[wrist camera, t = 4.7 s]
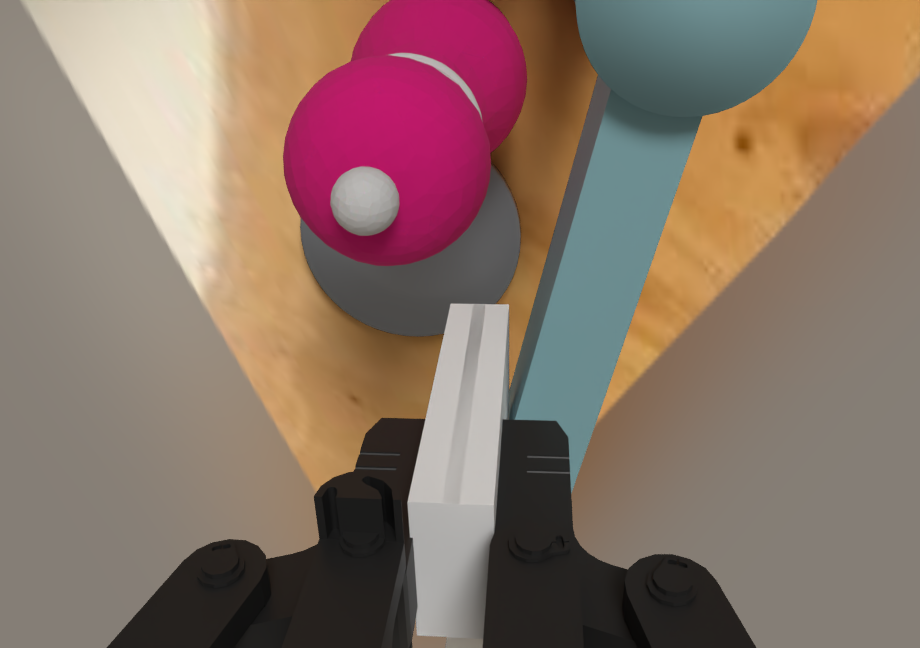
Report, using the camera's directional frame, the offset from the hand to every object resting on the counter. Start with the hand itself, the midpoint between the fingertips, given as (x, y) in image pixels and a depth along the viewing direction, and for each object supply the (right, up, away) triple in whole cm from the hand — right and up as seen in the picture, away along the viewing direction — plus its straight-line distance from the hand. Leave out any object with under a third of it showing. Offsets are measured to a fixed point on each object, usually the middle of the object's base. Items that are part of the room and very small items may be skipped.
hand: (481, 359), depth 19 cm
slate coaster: (-3, +5, +24) cm, 25 cm away
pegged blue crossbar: (+2, +3, 0) cm, 3 cm away
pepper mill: (-1, +13, +20) cm, 24 cm away
